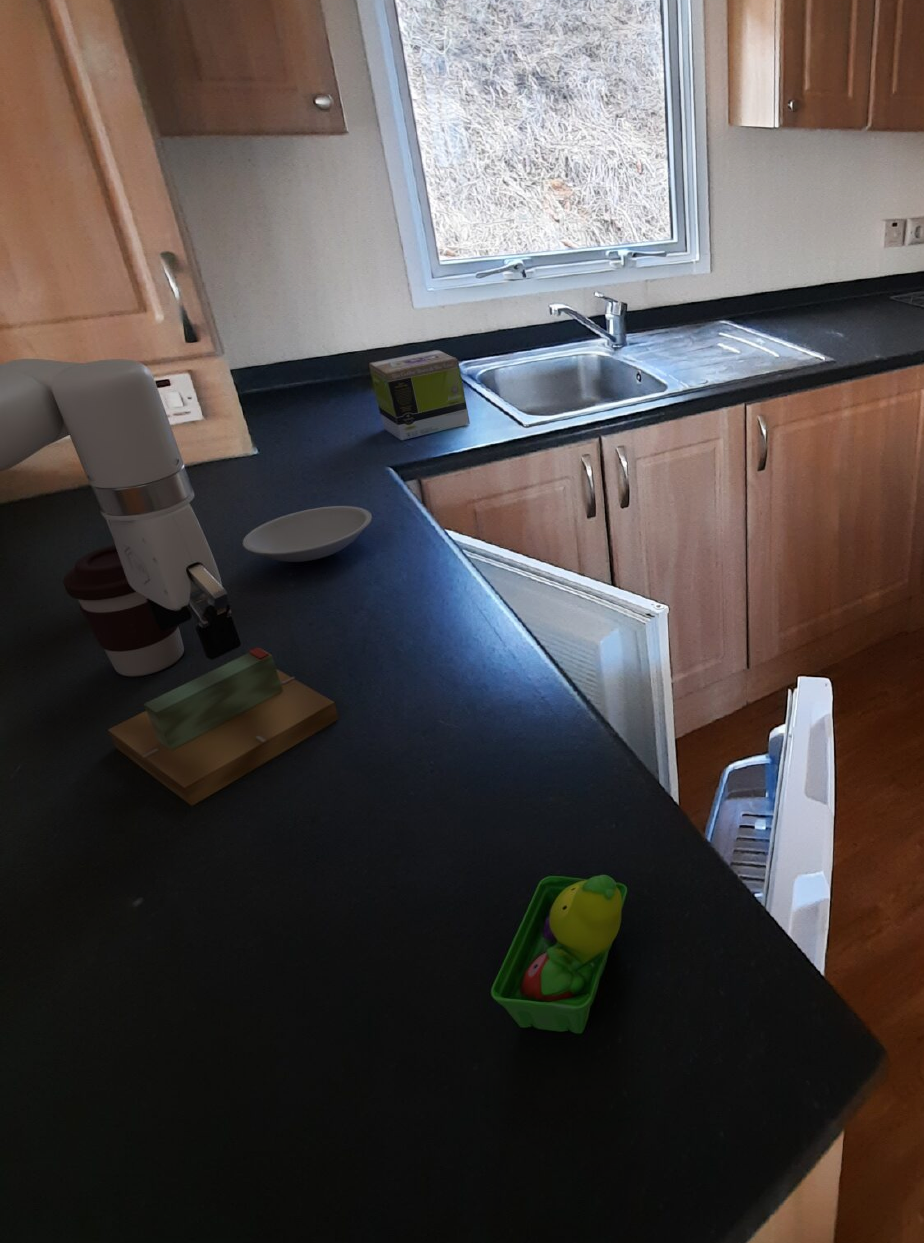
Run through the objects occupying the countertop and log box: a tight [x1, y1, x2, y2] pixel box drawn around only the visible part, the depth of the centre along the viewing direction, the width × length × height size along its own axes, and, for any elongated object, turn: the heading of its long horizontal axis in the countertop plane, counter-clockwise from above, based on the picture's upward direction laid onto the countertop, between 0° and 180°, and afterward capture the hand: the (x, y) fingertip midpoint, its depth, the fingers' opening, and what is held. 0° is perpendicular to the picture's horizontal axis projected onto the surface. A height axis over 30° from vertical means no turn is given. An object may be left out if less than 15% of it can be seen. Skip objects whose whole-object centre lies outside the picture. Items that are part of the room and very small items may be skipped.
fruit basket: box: [490, 874, 628, 1035], centre depth 68 cm, size 11×9×11 cm
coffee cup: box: [62, 544, 185, 677], centre depth 105 cm, size 10×10×15 cm
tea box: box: [368, 349, 471, 441], centre depth 180 cm, size 15×10×15 cm, turn 133°
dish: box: [242, 505, 373, 563], centre depth 131 cm, size 18×14×5 cm
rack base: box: [107, 668, 340, 807], centre depth 96 cm, size 16×16×3 cm
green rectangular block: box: [143, 647, 283, 750], centre depth 94 cm, size 12×3×5 cm, turn 148°
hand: (199, 638), depth 90 cm, fingers open, 9 cm apart
